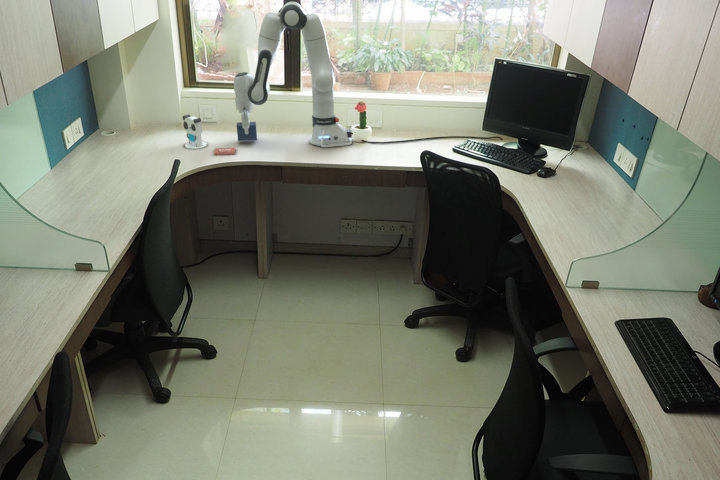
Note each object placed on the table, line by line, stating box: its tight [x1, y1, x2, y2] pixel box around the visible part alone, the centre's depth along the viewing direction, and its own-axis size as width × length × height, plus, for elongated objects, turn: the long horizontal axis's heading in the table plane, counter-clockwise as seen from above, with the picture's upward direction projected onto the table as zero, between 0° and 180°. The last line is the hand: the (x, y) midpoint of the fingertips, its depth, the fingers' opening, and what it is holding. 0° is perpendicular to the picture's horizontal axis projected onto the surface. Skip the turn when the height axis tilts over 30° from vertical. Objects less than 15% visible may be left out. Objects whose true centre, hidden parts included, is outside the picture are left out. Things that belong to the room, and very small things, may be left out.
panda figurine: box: [182, 114, 208, 150], centre depth 322 cm, size 12×11×15 cm
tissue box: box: [236, 121, 258, 142], centre depth 327 cm, size 10×6×9 cm, turn 97°
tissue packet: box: [214, 147, 236, 156], centre depth 316 cm, size 10×7×1 cm
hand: (246, 131), depth 327 cm, fingers closed on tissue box, 6 cm apart
